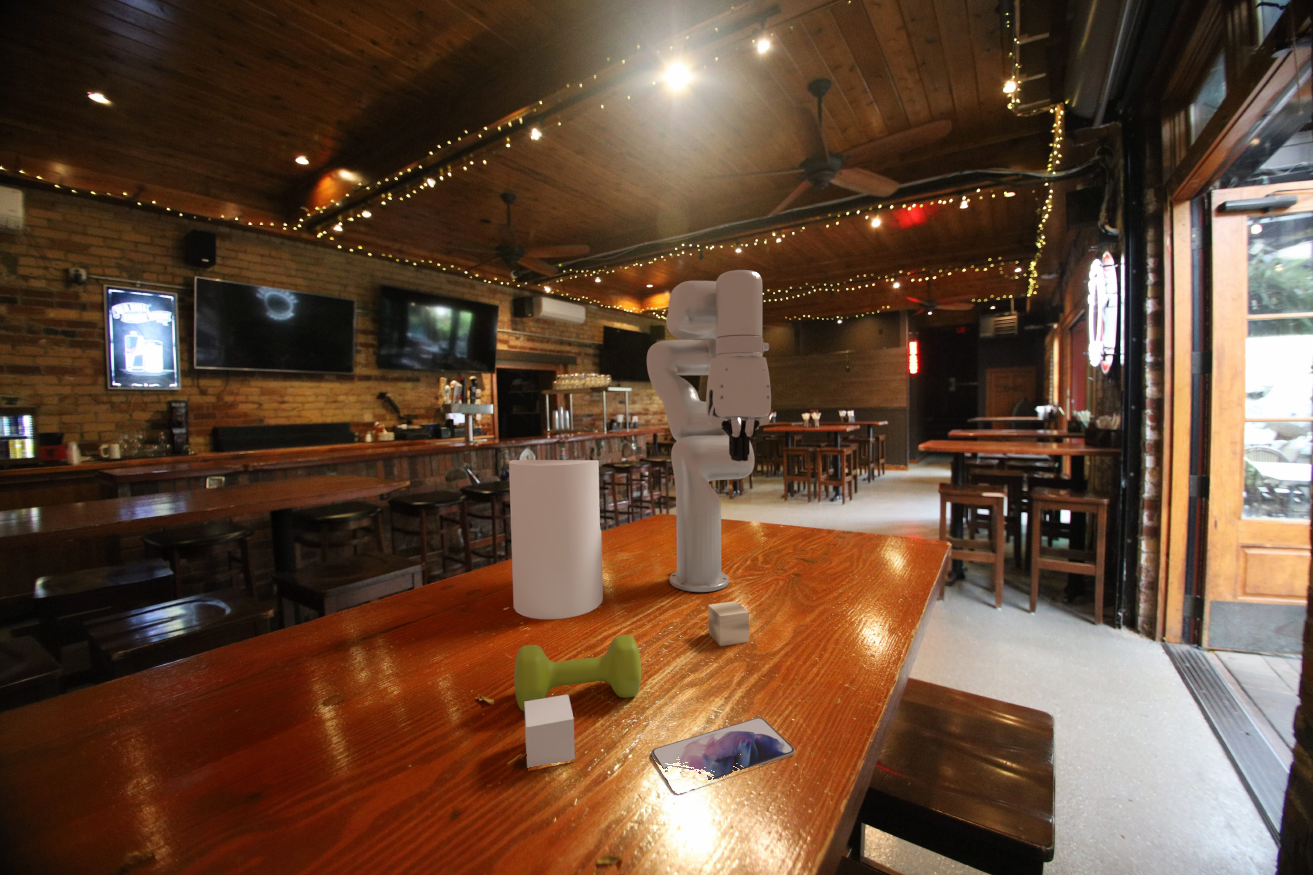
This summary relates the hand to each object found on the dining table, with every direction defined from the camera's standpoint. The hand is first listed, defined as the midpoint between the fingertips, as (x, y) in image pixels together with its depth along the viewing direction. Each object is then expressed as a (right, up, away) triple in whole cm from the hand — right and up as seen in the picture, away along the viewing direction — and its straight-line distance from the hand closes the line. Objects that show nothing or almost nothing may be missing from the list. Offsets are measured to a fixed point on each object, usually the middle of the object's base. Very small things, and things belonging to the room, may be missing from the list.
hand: (739, 460), depth 88 cm
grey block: (-26, -32, -29) cm, 50 cm away
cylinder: (-33, -29, +16) cm, 47 cm away
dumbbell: (-24, -31, -18) cm, 43 cm away
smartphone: (-6, -32, -29) cm, 44 cm away
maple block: (-2, -29, -1) cm, 29 cm away
